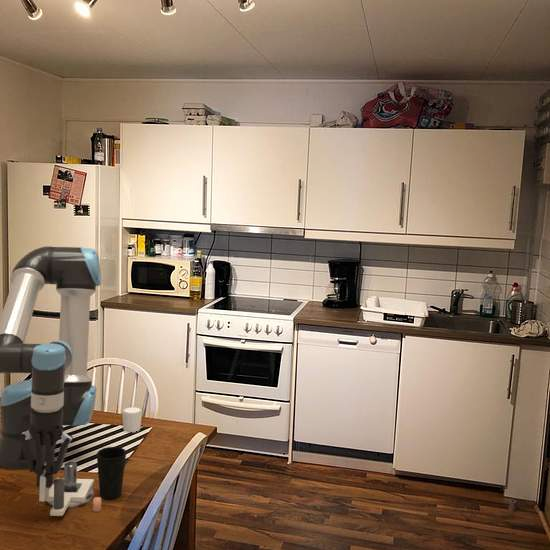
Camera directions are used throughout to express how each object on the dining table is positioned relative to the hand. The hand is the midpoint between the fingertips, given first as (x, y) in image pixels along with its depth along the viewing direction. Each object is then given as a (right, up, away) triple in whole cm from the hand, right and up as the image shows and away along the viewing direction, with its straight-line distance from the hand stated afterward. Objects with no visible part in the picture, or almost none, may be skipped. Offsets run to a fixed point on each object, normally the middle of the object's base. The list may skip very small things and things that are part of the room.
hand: (44, 498), depth 150 cm
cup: (+13, -4, +13) cm, 19 cm away
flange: (+3, -3, +7) cm, 8 cm away
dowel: (+12, -5, +5) cm, 14 cm away
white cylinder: (+8, +2, +58) cm, 58 cm away
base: (+3, -3, +11) cm, 12 cm away
